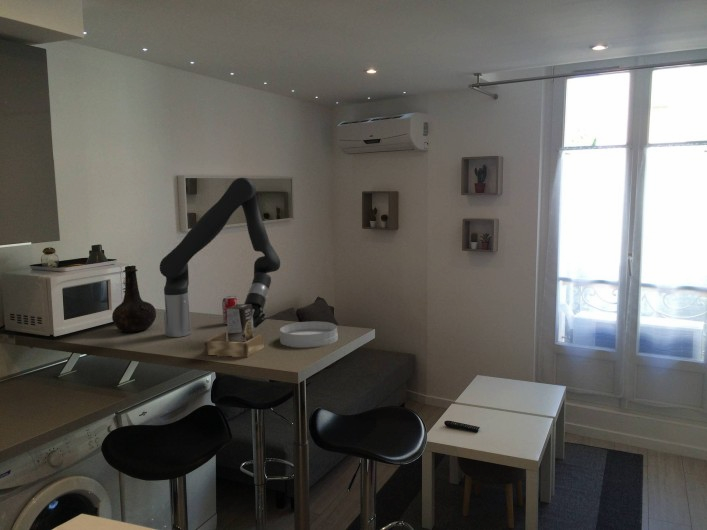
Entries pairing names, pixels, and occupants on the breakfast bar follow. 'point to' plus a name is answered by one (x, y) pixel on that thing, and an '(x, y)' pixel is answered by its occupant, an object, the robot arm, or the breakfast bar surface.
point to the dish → (308, 334)
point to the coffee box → (240, 323)
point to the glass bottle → (133, 306)
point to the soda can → (228, 305)
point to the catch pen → (233, 346)
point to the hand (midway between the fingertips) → (244, 336)
